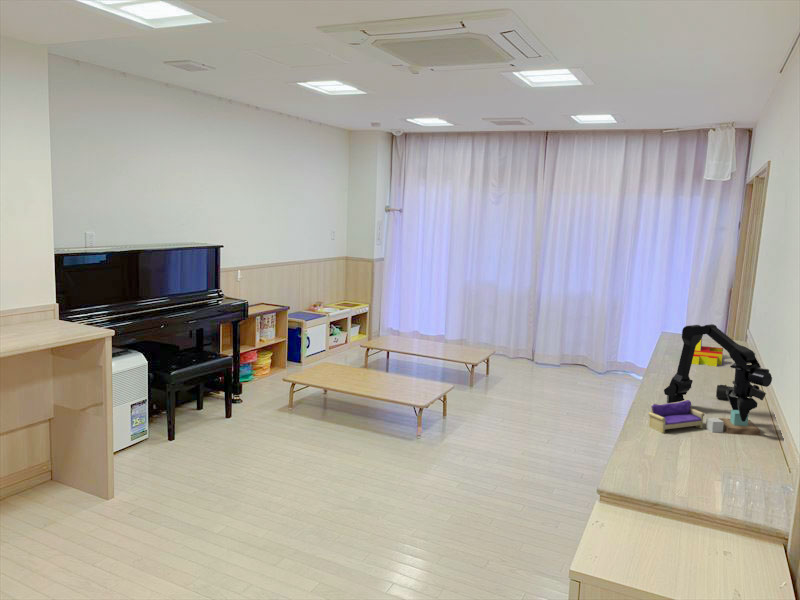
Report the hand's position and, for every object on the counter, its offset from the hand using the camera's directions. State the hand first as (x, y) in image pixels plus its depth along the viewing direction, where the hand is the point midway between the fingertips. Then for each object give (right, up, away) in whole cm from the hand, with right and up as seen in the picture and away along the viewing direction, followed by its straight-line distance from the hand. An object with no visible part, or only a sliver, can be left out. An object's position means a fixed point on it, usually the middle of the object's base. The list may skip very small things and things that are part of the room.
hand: (739, 417), depth 249 cm
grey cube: (-10, -5, 0) cm, 12 cm away
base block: (0, -6, +1) cm, 6 cm away
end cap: (+17, 0, +41) cm, 44 cm away
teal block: (0, -3, 0) cm, 3 cm away
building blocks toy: (+45, +11, +119) cm, 127 cm away
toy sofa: (-25, -5, +3) cm, 26 cm away
